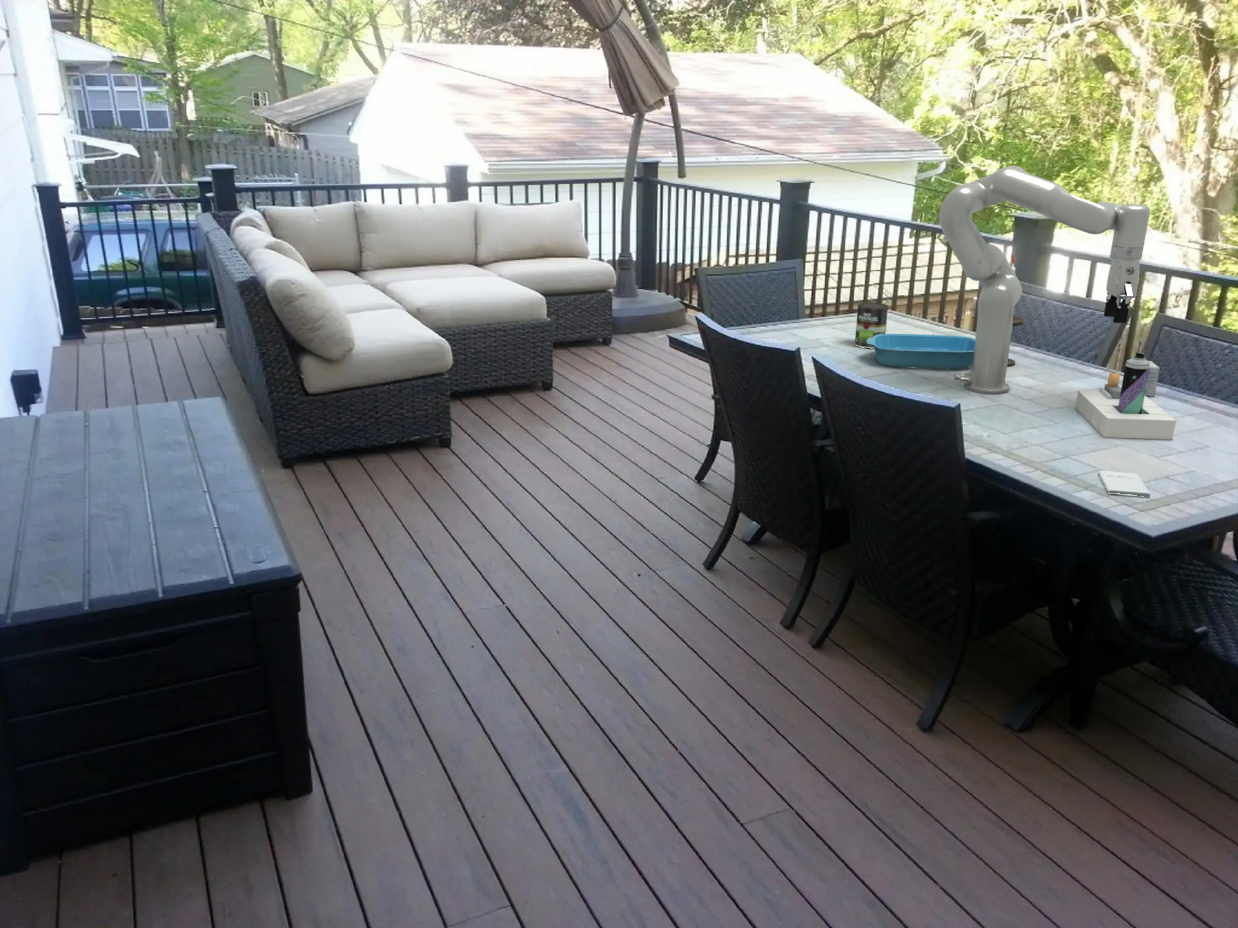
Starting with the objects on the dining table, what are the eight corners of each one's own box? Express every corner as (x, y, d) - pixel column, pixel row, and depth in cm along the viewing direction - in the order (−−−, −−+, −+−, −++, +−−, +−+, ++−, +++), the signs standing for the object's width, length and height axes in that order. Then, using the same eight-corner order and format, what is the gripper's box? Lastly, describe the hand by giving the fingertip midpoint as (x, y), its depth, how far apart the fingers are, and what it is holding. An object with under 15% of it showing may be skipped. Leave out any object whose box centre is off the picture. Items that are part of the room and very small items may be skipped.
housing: (1104, 437, 241) (1108, 414, 239) (1075, 407, 265) (1078, 386, 262) (1172, 439, 239) (1177, 416, 237) (1137, 409, 262) (1141, 388, 260)
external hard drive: (1107, 496, 207) (1097, 476, 218) (1149, 500, 205) (1137, 479, 216) (1108, 489, 207) (1098, 469, 218) (1150, 493, 204) (1138, 472, 216)
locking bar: (1112, 398, 255) (1115, 379, 253) (1103, 391, 261) (1107, 372, 260) (1124, 398, 254) (1127, 379, 253) (1115, 391, 261) (1118, 373, 259)
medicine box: (1154, 397, 273) (1160, 367, 270) (1137, 396, 274) (1143, 367, 271) (1146, 389, 280) (1151, 360, 277) (1129, 389, 281) (1135, 360, 278)
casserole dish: (865, 368, 306) (867, 346, 304) (864, 352, 327) (866, 331, 324) (987, 374, 298) (990, 352, 296) (978, 356, 319) (981, 335, 316)
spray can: (1110, 425, 250) (1123, 350, 243) (1130, 424, 251) (1144, 349, 244) (1122, 432, 245) (1136, 355, 238) (1142, 431, 245) (1157, 354, 238)
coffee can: (878, 350, 327) (882, 309, 322) (849, 346, 332) (852, 306, 327) (889, 344, 335) (893, 304, 330) (861, 341, 340) (864, 301, 335)
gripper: (1153, 258, 245) (1140, 327, 251) (1130, 248, 261) (1118, 313, 267) (1122, 258, 246) (1110, 326, 252) (1100, 248, 262) (1090, 312, 268)
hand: (1114, 319), depth 260 cm, fingers open, 7 cm apart
